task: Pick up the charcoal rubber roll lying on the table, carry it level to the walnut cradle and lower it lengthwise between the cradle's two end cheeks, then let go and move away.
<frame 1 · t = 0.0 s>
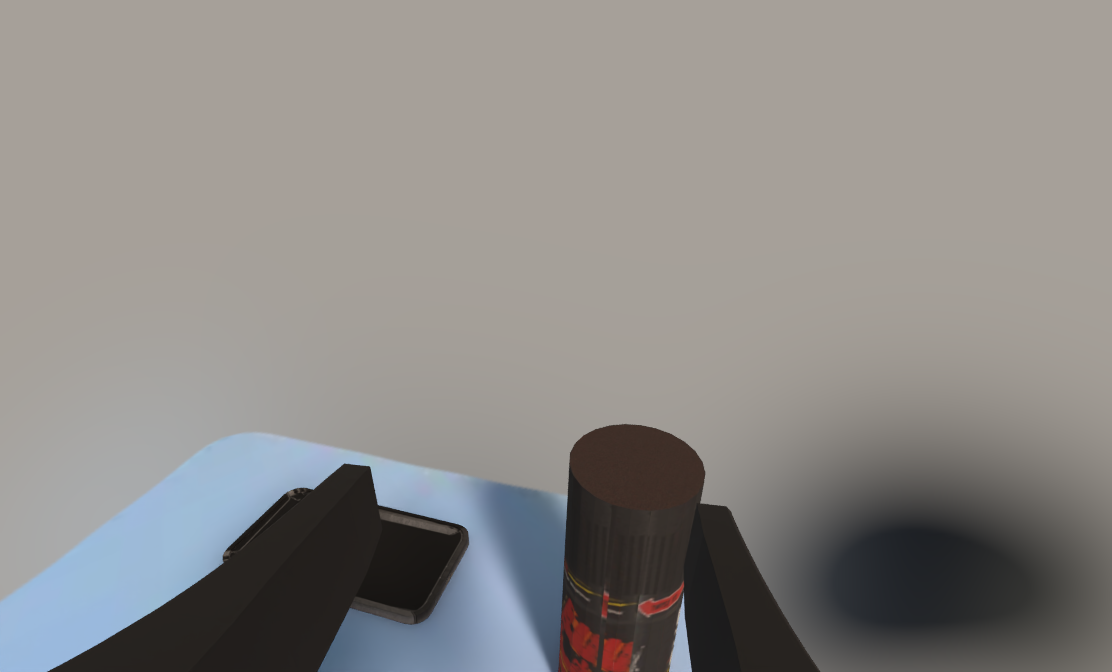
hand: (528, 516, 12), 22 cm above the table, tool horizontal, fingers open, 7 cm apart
phone: (351, 558, 39), on the table
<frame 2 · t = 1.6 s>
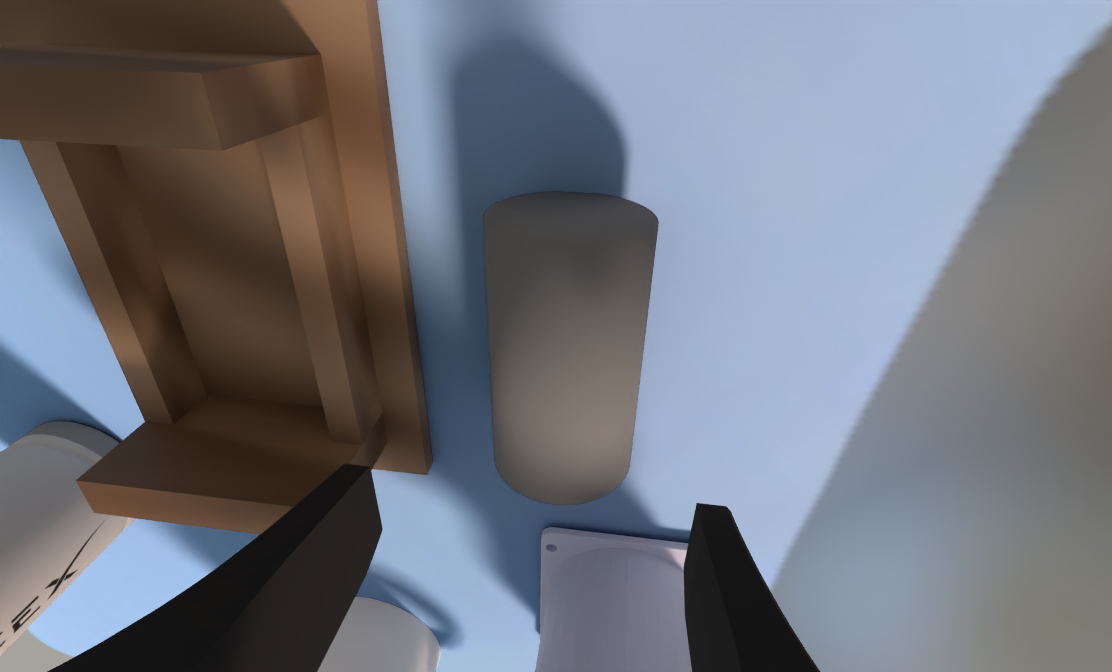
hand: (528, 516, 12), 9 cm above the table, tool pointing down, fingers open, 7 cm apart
roll: (573, 313, 21), on the table
cradle: (256, 266, 21), on the table
travel mug: (96, 465, 29), on the table
mug: (407, 643, 33), on the table
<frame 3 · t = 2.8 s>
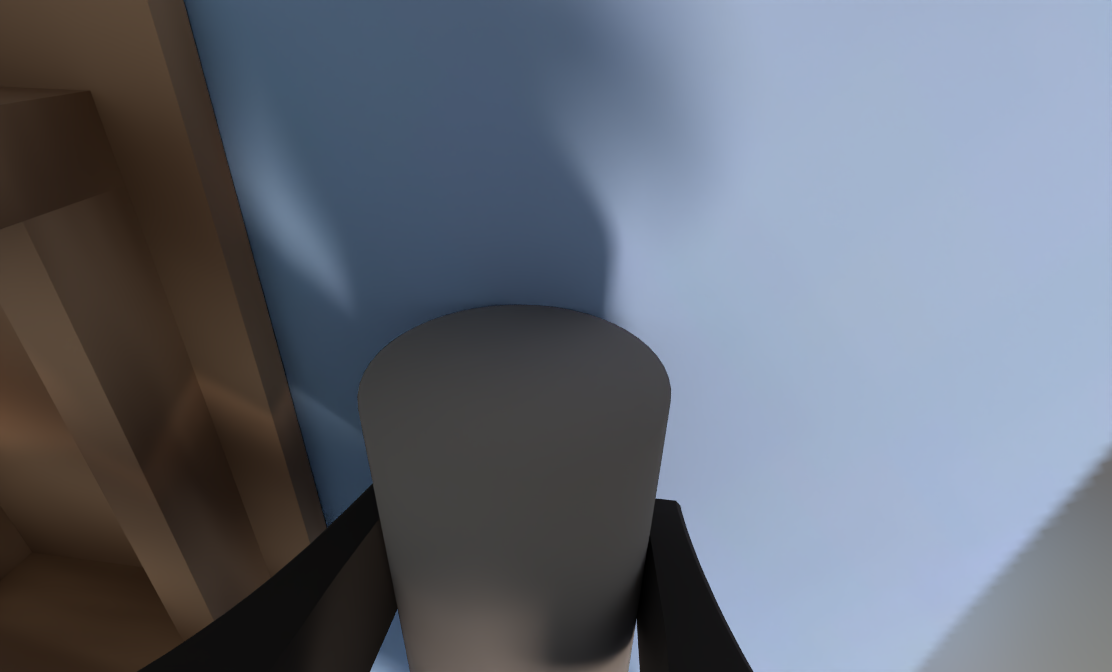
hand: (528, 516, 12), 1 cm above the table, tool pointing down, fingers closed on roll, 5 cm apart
roll: (538, 469, 14), on the table, touching gripper
cradle: (73, 391, 14), on the table
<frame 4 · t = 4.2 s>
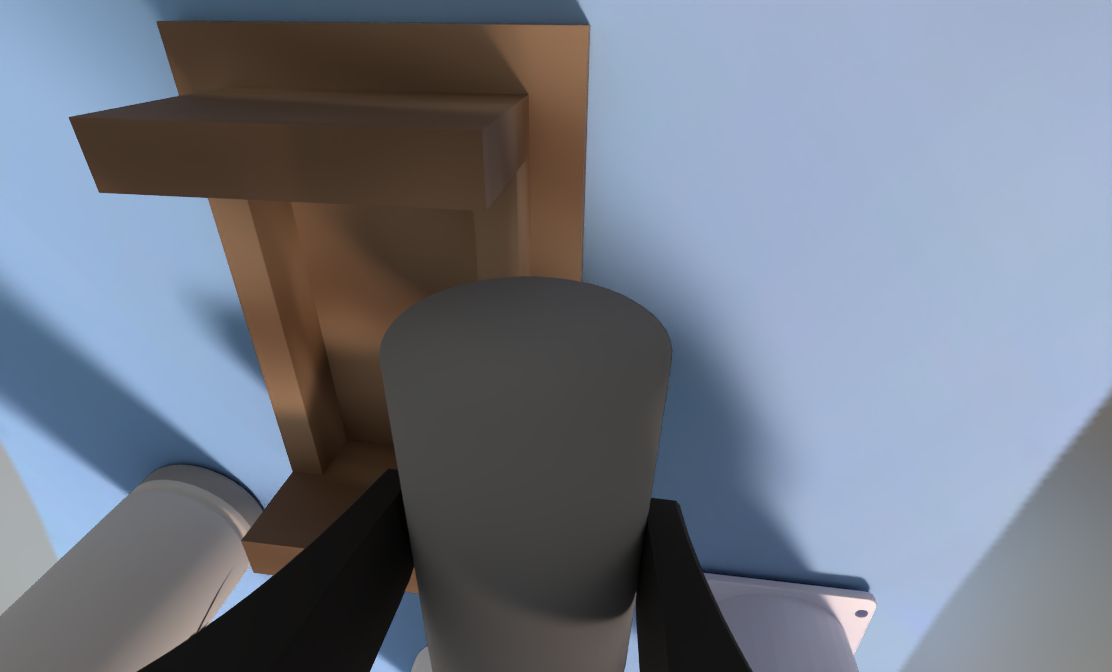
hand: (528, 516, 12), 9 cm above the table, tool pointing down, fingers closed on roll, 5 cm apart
roll: (548, 438, 14), point 6 cm above the table, touching gripper
cradle: (414, 309, 20), on the table
travel mug: (210, 507, 28), on the table
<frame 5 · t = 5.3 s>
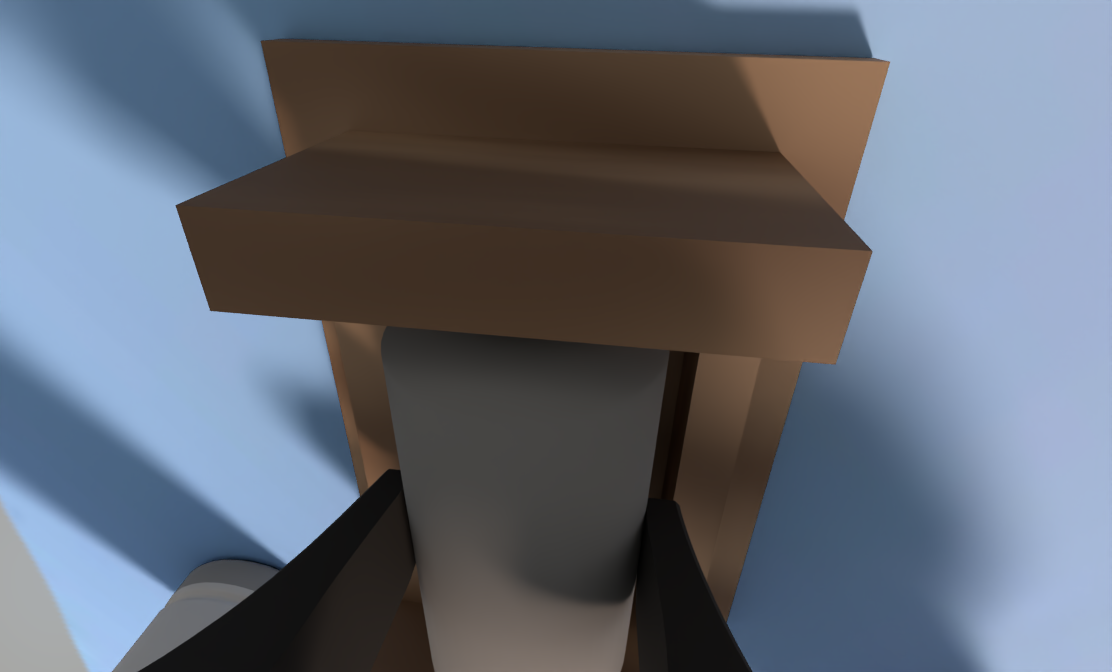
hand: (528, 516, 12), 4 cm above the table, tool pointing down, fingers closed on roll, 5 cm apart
roll: (552, 434, 14), point 2 cm above the table, touching gripper
cradle: (554, 404, 16), on the table
travel mug: (263, 603, 23), on the table
when the fingers open (4 cm above the table, at t = 5.8 s): roll stays where it is, resting on cradle.
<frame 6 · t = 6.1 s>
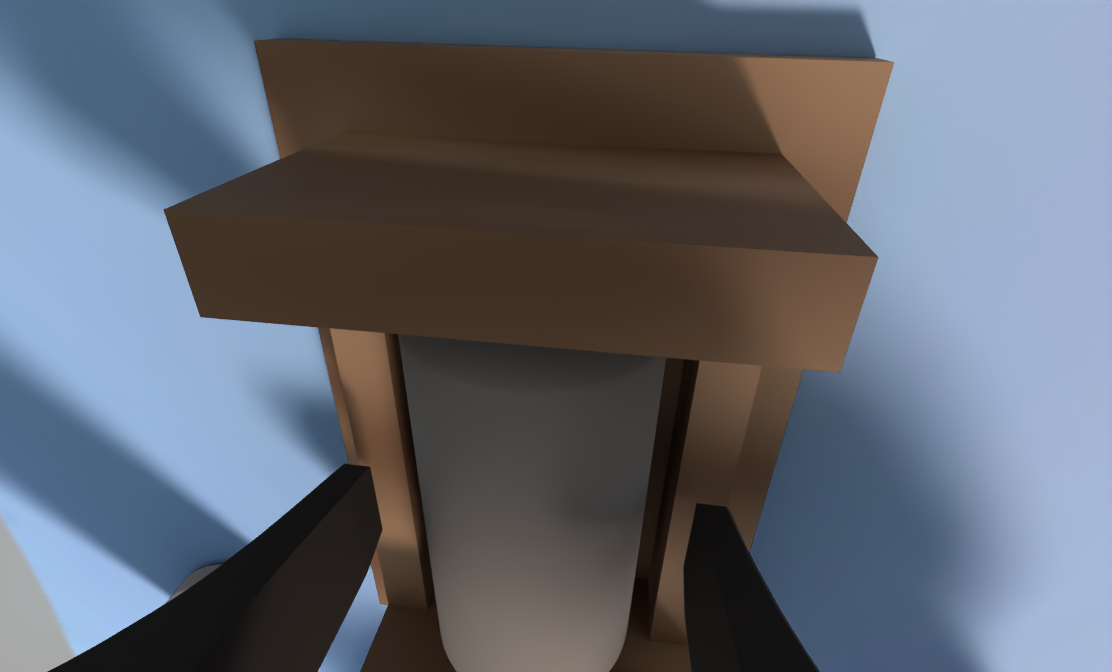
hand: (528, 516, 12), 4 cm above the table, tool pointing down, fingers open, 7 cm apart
roll: (555, 418, 15), point 1 cm above the table, touching cradle
cradle: (552, 408, 16), on the table
travel mug: (260, 607, 23), on the table
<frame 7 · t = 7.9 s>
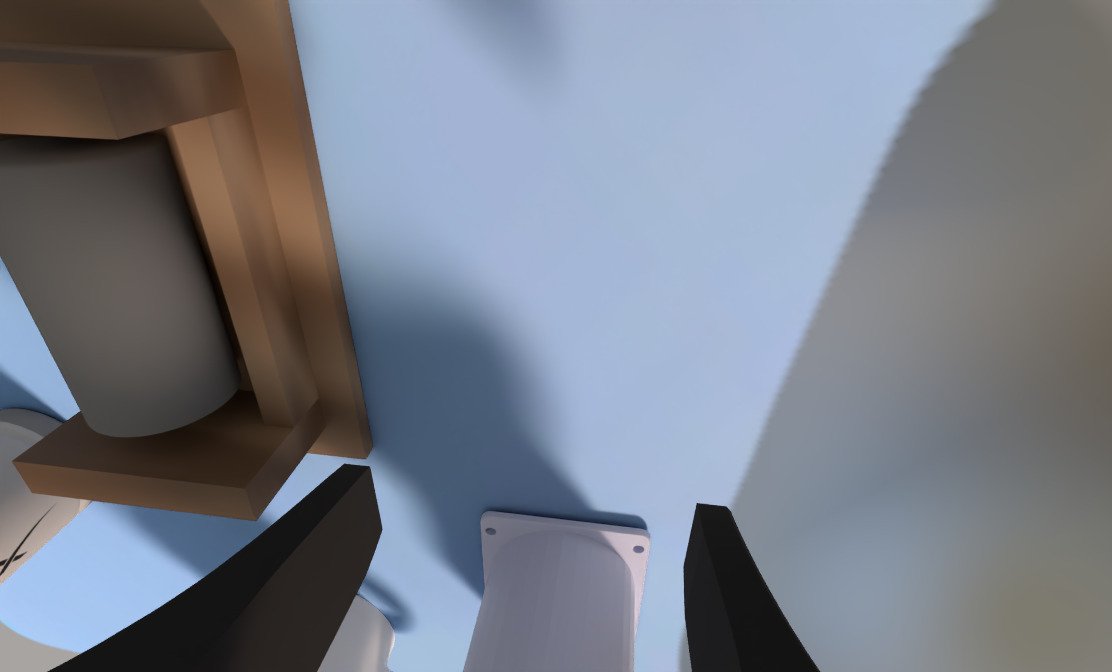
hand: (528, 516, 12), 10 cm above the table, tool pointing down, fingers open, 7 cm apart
roll: (179, 256, 21), point 1 cm above the table, touching cradle
cradle: (191, 255, 22), on the table
travel mug: (52, 452, 29), on the table
mug: (362, 627, 34), on the table
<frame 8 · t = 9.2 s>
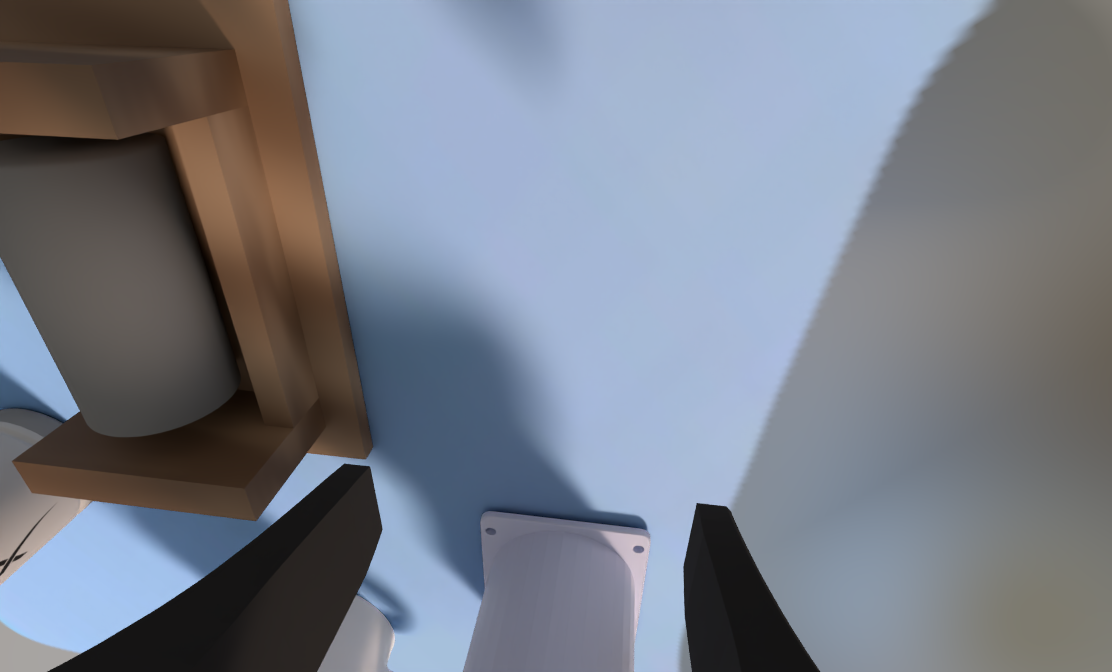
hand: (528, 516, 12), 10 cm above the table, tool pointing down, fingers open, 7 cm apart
roll: (179, 256, 21), point 1 cm above the table, touching cradle
cradle: (191, 255, 22), on the table
travel mug: (52, 452, 29), on the table
mug: (362, 628, 34), on the table
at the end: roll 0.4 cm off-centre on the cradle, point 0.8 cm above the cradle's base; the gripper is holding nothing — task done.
